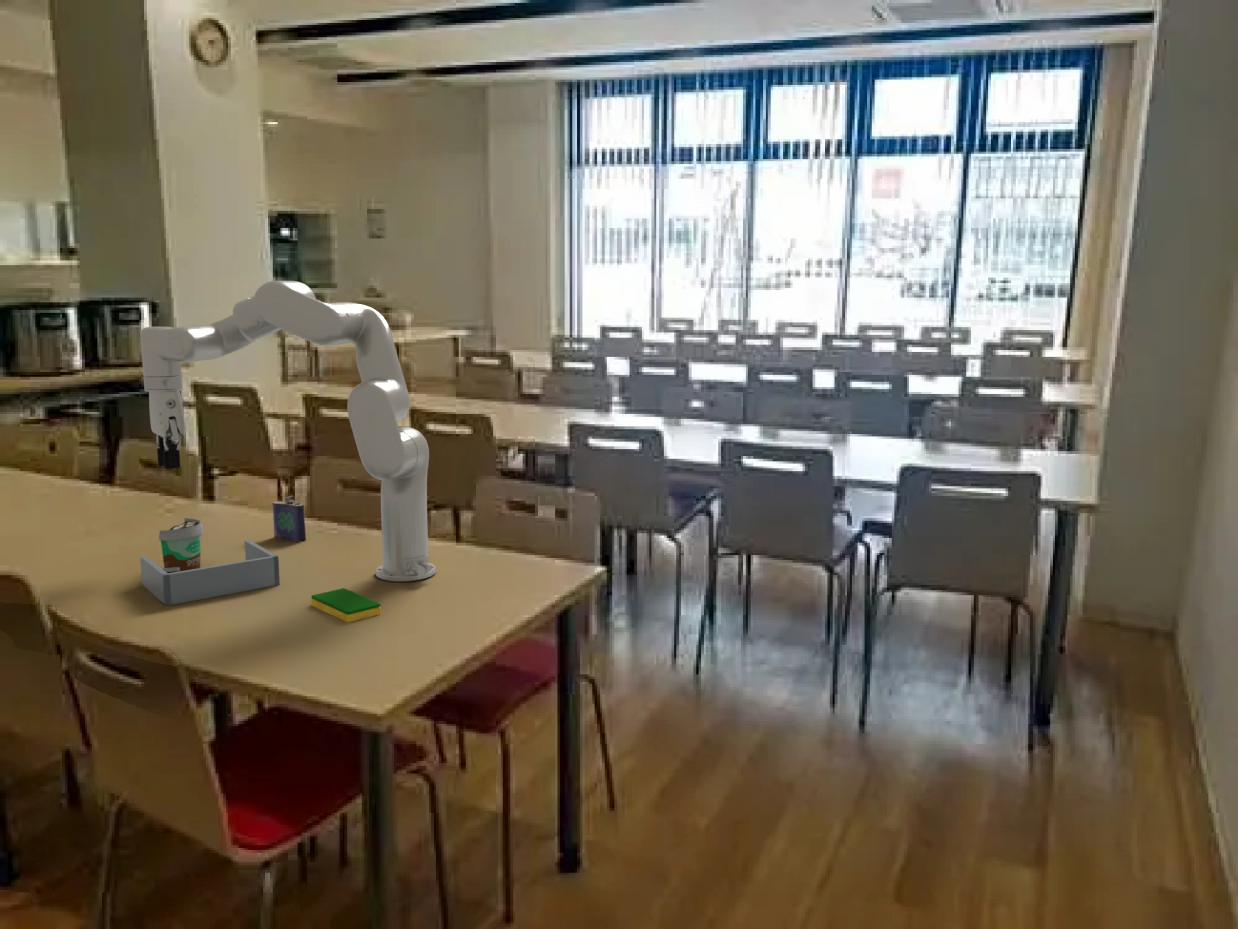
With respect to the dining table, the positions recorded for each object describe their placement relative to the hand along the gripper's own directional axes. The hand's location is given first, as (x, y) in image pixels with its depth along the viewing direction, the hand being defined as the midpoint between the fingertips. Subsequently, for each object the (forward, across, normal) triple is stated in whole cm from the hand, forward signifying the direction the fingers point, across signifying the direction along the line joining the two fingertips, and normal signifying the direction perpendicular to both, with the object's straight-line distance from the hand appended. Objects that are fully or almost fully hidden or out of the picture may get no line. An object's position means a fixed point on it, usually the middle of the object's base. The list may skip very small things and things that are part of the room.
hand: (169, 465), depth 213 cm
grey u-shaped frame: (+21, -24, 0) cm, 32 cm away
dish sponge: (+22, -56, -15) cm, 62 cm away
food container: (+21, -10, 0) cm, 24 cm away
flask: (+22, +2, -27) cm, 35 cm away
